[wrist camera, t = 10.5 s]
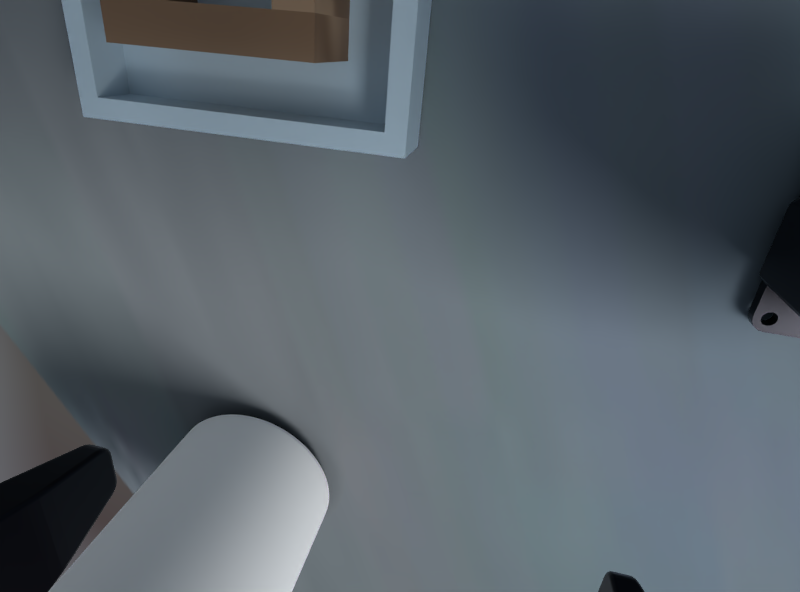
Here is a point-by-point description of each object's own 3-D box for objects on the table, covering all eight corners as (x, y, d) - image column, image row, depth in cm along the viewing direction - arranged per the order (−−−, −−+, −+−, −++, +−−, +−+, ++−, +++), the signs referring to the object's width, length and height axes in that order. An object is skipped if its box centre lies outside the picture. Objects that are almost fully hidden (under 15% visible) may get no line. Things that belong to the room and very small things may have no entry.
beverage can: (165, 410, 26) (-76, 653, 16) (306, 400, 24) (132, 678, 13) (223, 524, 29) (53, 792, 19) (352, 525, 27) (241, 832, 16)
